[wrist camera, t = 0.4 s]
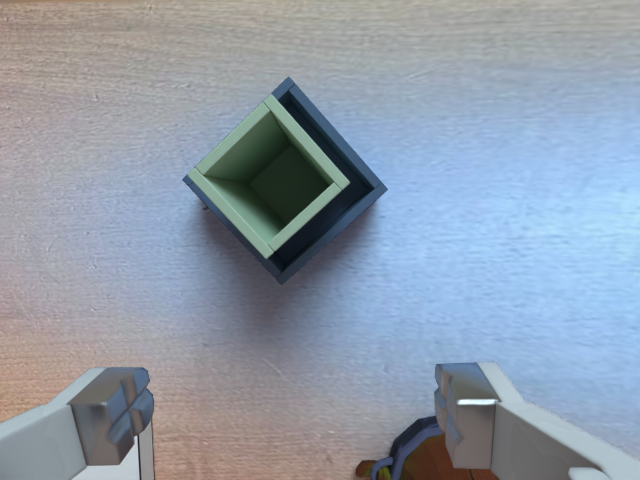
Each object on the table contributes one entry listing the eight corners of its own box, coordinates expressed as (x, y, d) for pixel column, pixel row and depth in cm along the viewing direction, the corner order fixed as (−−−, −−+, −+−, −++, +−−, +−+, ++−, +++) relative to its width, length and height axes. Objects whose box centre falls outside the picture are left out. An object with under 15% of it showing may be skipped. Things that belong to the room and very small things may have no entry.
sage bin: (240, 183, 30) (186, 174, 18) (291, 135, 29) (270, 92, 17) (288, 235, 30) (266, 259, 18) (339, 188, 30) (350, 182, 18)
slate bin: (202, 182, 30) (181, 179, 26) (293, 94, 29) (288, 75, 25) (287, 272, 31) (281, 285, 27) (378, 190, 30) (388, 189, 26)
